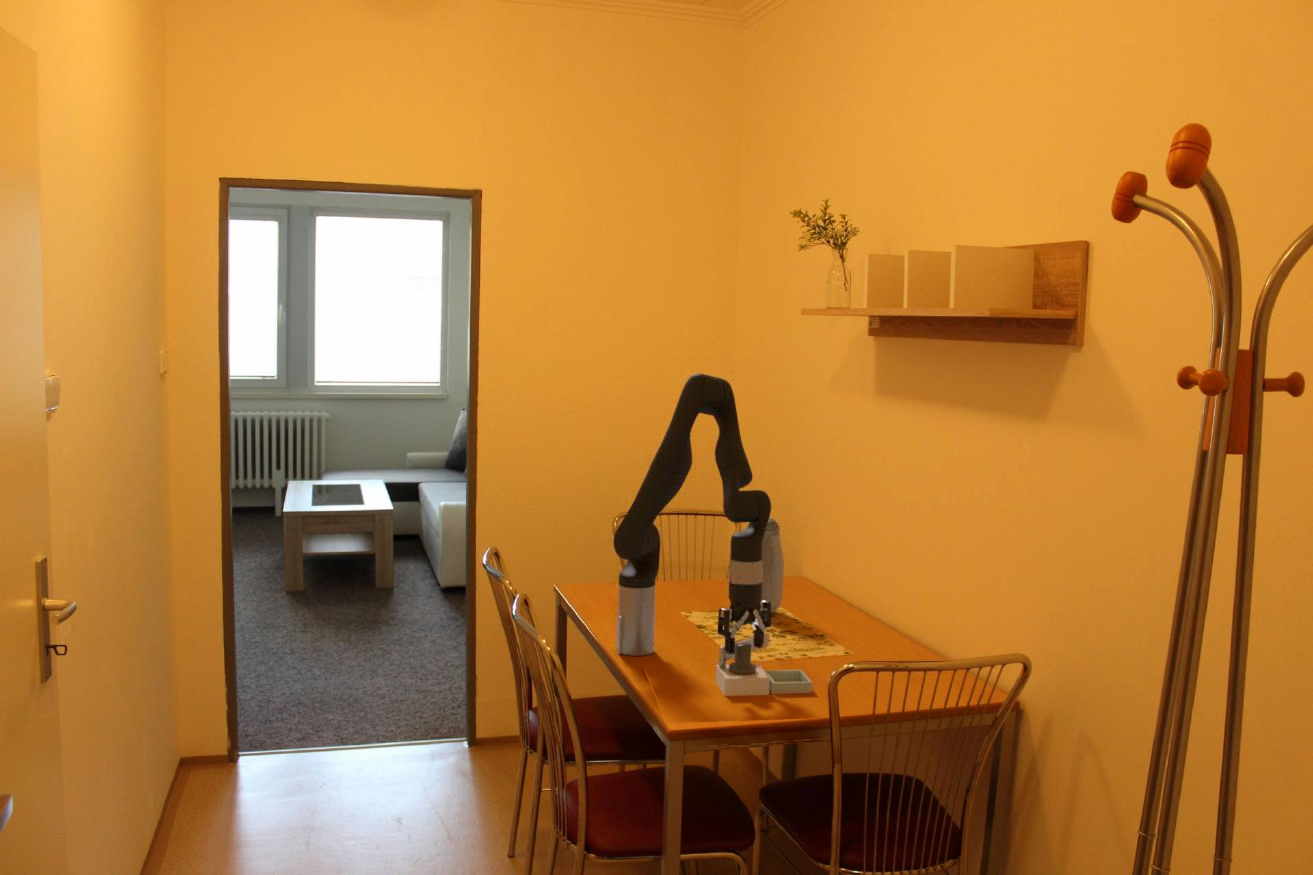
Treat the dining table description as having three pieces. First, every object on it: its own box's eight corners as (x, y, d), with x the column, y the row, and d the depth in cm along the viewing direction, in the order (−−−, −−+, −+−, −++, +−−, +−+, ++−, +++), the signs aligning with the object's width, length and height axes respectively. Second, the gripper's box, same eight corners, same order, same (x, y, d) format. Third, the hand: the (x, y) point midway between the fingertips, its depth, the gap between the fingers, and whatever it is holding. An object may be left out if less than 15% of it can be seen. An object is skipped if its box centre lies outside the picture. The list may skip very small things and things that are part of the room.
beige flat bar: (723, 668, 241) (723, 648, 241) (717, 667, 242) (718, 647, 242) (769, 652, 254) (769, 633, 254) (763, 651, 256) (764, 632, 255)
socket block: (724, 696, 235) (725, 678, 235) (715, 681, 245) (716, 664, 244) (768, 695, 236) (769, 677, 236) (758, 680, 246) (758, 663, 246)
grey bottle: (787, 615, 309) (790, 520, 306) (756, 618, 305) (759, 521, 302) (771, 607, 318) (774, 514, 315) (740, 610, 314) (743, 516, 311)
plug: (731, 692, 237) (732, 649, 236) (726, 683, 243) (727, 641, 242) (757, 691, 238) (759, 648, 237) (751, 683, 244) (753, 640, 243)
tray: (772, 694, 237) (773, 683, 237) (763, 681, 246) (763, 670, 246) (812, 693, 238) (812, 682, 238) (801, 680, 247) (801, 669, 247)
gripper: (757, 572, 246) (755, 641, 247) (710, 580, 237) (709, 651, 238) (780, 578, 240) (778, 648, 241) (733, 586, 231) (732, 659, 232)
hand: (744, 650), depth 240 cm, fingers open, 8 cm apart
